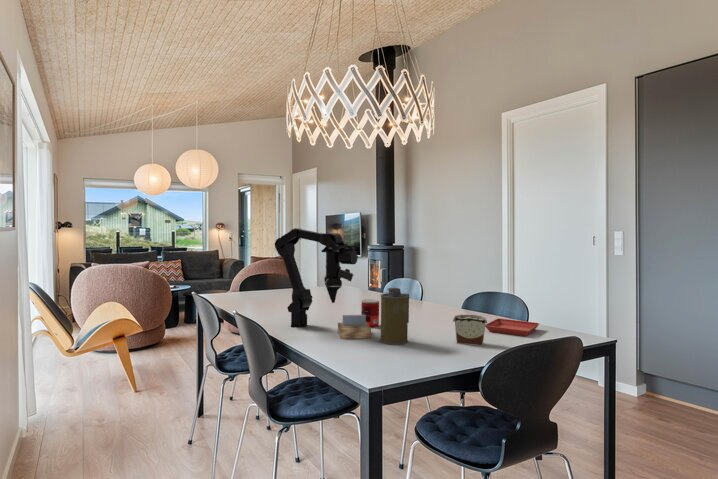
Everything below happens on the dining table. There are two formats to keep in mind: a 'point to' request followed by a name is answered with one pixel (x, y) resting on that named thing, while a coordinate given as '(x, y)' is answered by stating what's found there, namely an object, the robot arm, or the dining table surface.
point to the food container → (470, 329)
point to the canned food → (371, 311)
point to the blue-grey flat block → (354, 320)
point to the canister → (394, 317)
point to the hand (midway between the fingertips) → (332, 301)
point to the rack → (354, 331)
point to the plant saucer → (511, 327)
